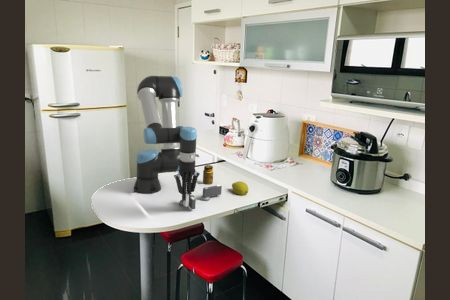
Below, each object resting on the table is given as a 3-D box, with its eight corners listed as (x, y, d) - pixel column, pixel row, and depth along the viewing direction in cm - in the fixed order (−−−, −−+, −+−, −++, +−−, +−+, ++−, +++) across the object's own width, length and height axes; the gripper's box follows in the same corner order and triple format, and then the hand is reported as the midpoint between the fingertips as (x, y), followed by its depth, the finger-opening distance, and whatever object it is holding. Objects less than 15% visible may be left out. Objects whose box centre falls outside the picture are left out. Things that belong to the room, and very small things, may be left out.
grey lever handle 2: (203, 201, 170) (204, 190, 168) (199, 198, 174) (199, 187, 172) (222, 197, 177) (223, 186, 175) (217, 194, 181) (218, 183, 179)
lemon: (251, 196, 184) (252, 183, 181) (240, 199, 179) (242, 186, 177) (238, 190, 192) (239, 177, 189) (228, 193, 187) (229, 180, 185)
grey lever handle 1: (178, 202, 167) (178, 191, 165) (186, 201, 170) (186, 189, 168) (189, 212, 158) (189, 200, 156) (197, 210, 160) (198, 198, 158)
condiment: (215, 186, 196) (216, 167, 193) (203, 188, 191) (204, 169, 188) (209, 182, 202) (210, 163, 198) (197, 184, 197) (198, 165, 194)
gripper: (178, 164, 146) (177, 211, 152) (203, 160, 153) (201, 206, 159) (171, 159, 152) (170, 205, 158) (195, 156, 159) (193, 200, 165)
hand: (185, 205), depth 159 cm, fingers closed
